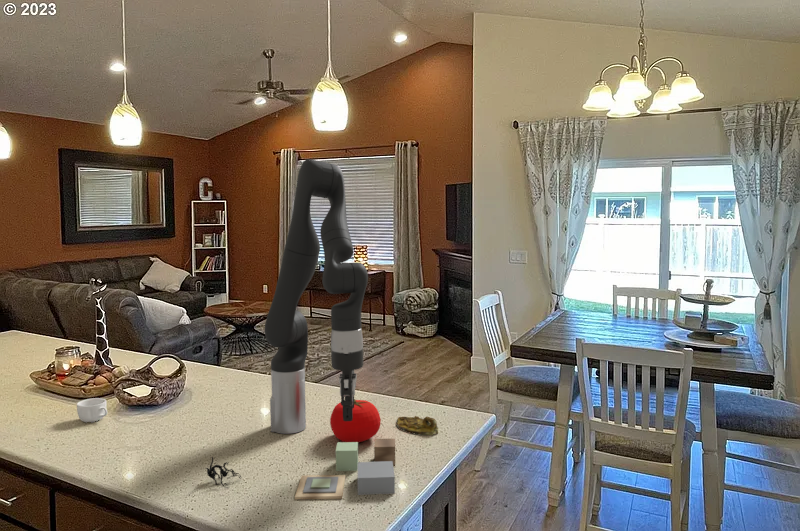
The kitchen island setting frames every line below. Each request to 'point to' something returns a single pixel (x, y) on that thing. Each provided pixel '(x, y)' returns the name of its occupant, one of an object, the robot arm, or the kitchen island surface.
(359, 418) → the tomato
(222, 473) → the creature
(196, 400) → the kitchen island surface
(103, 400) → the teacup
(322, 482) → the tile
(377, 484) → the grey base block
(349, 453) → the sage block
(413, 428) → the stuffed eggplant half
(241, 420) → the kitchen island surface
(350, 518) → the kitchen island surface
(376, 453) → the walnut block
